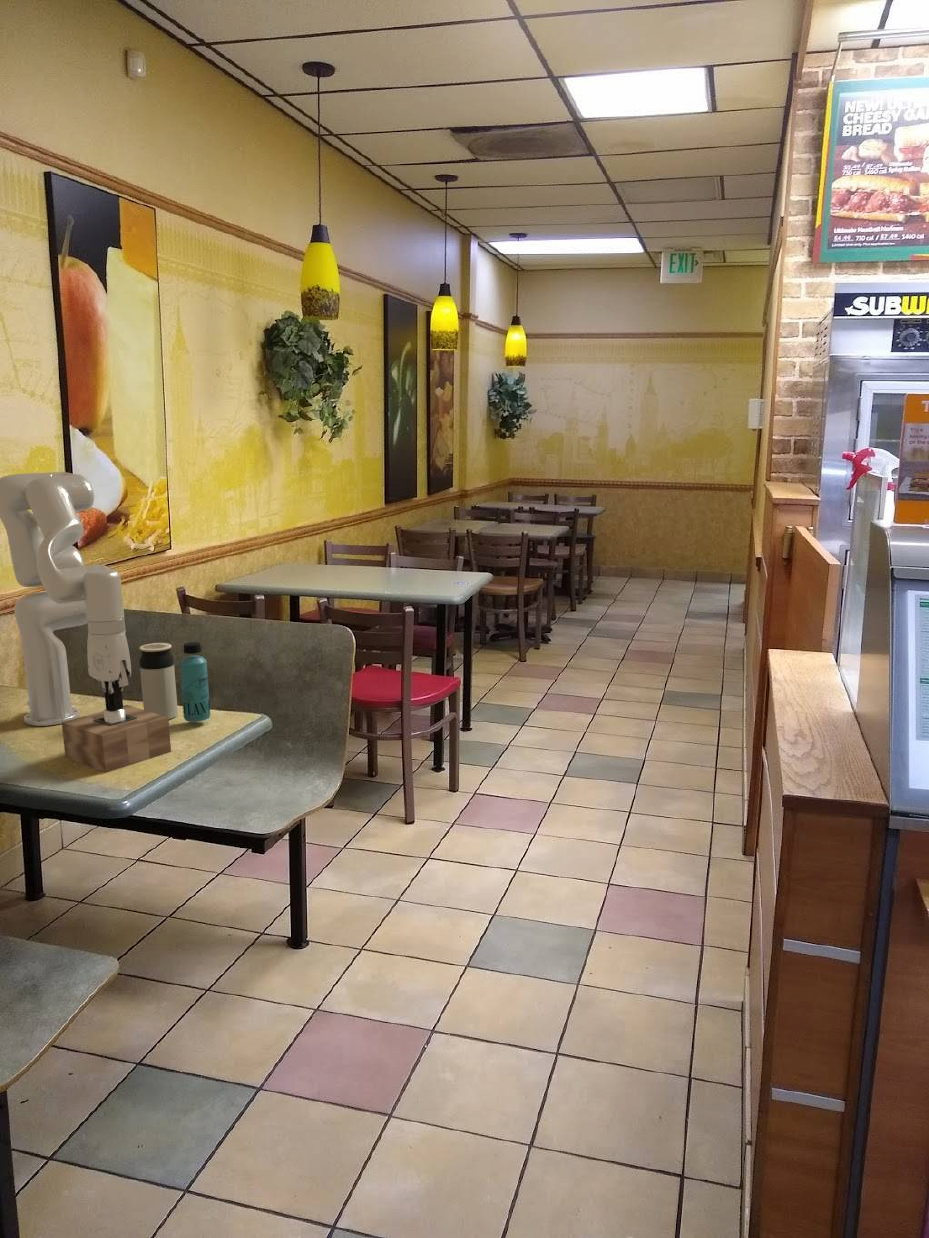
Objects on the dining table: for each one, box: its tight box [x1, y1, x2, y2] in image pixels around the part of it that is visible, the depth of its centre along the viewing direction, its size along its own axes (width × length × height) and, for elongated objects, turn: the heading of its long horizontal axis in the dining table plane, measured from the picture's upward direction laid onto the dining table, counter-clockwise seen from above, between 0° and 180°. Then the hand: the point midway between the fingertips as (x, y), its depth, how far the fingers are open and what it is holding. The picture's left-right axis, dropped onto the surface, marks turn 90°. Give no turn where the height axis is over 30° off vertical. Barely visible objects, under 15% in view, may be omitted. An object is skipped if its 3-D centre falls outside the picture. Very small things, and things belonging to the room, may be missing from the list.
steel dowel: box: [103, 707, 126, 724], centre depth 215 cm, size 4×4×8 cm
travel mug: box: [139, 642, 179, 720], centre depth 241 cm, size 8×8×18 cm
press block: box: [61, 704, 172, 773], centre depth 216 cm, size 16×16×8 cm
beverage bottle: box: [179, 641, 211, 723], centre depth 235 cm, size 6×7×20 cm
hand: (114, 709), depth 214 cm, fingers closed
